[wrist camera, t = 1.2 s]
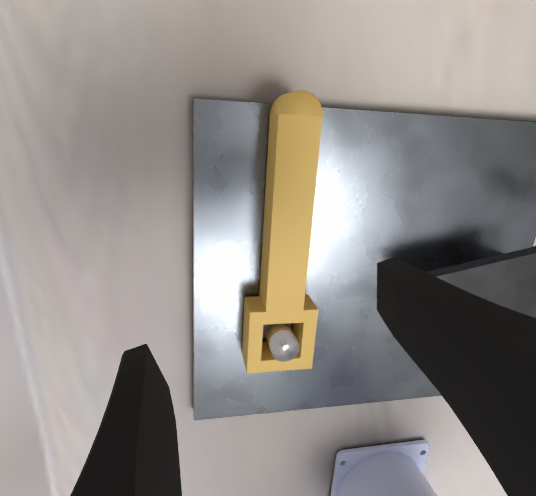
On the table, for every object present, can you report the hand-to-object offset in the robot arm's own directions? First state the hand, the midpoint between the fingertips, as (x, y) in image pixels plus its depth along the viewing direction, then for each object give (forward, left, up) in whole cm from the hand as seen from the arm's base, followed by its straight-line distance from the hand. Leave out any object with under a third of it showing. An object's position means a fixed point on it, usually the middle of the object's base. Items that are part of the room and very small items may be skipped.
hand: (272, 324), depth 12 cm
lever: (-1, -3, -11) cm, 11 cm away
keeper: (-4, -15, -12) cm, 20 cm away
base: (-3, -10, -12) cm, 16 cm away
